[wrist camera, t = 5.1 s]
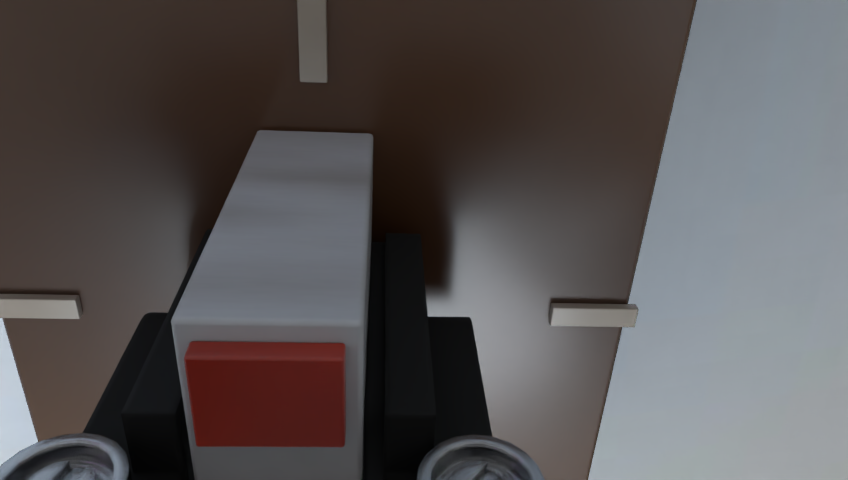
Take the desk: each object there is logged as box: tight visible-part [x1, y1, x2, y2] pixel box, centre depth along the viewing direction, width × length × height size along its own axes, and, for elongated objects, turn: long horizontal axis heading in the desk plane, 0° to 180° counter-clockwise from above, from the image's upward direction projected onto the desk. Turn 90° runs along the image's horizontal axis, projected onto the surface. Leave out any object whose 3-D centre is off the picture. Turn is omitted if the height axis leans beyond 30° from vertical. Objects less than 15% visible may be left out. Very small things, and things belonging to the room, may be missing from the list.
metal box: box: [171, 130, 373, 480], centre depth 9 cm, size 6×2×5 cm, turn 177°
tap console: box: [0, 0, 697, 480], centre depth 13 cm, size 12×10×3 cm
